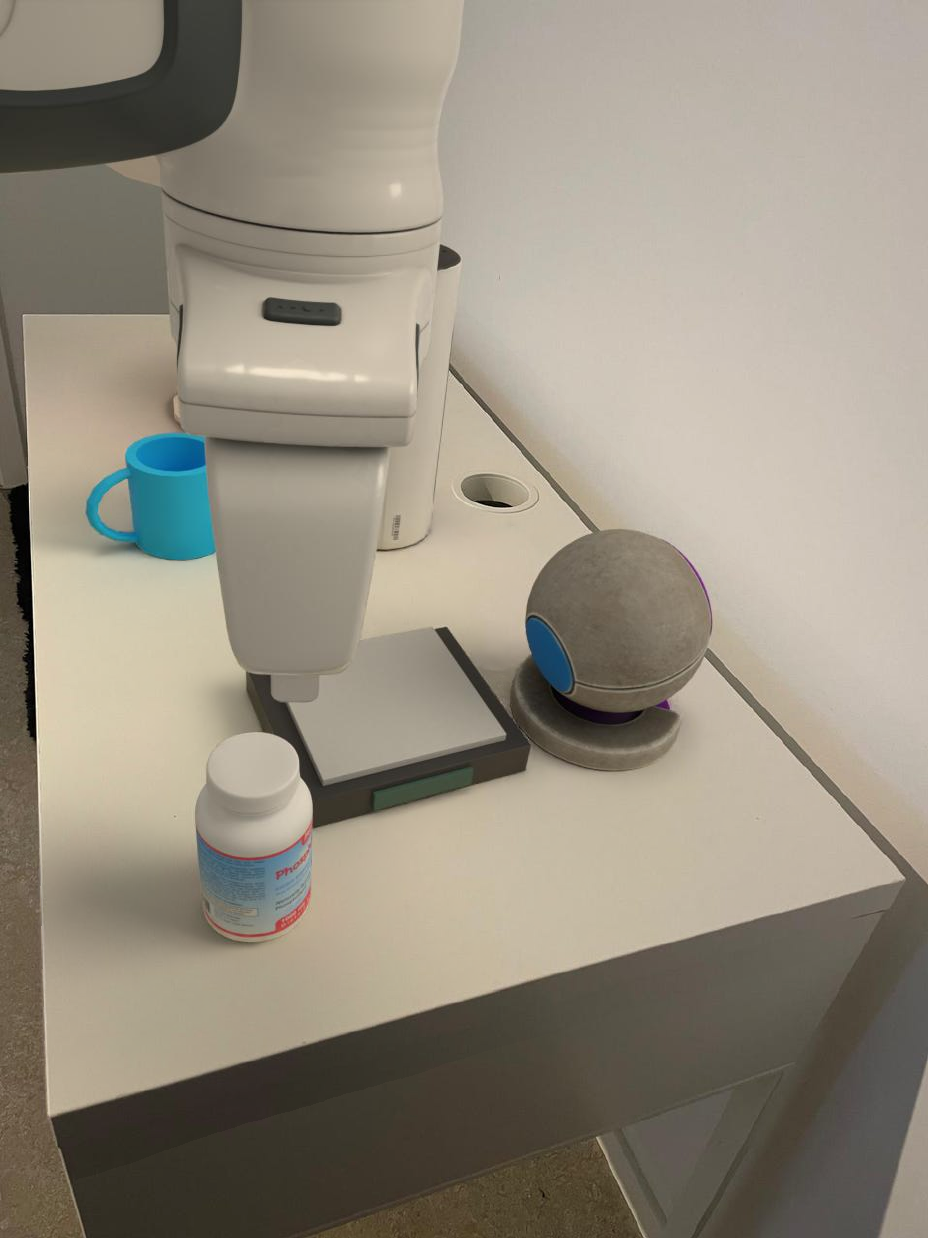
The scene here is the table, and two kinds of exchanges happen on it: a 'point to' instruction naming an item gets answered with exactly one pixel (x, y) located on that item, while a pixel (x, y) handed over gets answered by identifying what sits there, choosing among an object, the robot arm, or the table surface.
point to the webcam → (610, 649)
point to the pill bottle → (254, 838)
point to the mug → (163, 497)
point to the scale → (394, 726)
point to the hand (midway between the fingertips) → (297, 617)
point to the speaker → (423, 423)
